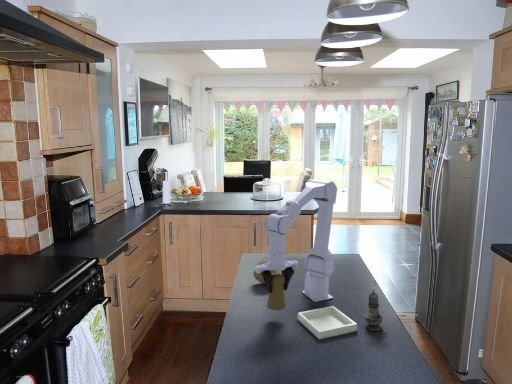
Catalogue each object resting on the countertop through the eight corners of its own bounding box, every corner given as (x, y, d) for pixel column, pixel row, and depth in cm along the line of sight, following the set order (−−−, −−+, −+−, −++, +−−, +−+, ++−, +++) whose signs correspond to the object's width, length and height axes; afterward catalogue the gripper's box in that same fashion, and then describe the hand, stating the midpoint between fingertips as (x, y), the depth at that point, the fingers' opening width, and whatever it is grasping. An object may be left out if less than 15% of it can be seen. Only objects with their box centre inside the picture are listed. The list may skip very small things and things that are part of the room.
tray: (297, 319, 132) (297, 312, 132) (332, 312, 138) (333, 305, 137) (319, 339, 120) (319, 332, 120) (356, 331, 125) (357, 323, 125)
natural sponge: (278, 287, 158) (279, 263, 157) (257, 289, 156) (257, 265, 155) (273, 279, 167) (273, 256, 165) (252, 281, 165) (252, 257, 163)
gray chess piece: (363, 323, 130) (362, 286, 130) (381, 323, 130) (381, 287, 129) (364, 330, 125) (364, 292, 124) (384, 331, 124) (384, 293, 123)
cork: (264, 304, 134) (264, 272, 132) (280, 301, 136) (281, 270, 135) (272, 311, 128) (273, 278, 127) (288, 308, 131) (289, 276, 129)
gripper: (261, 257, 123) (261, 299, 125) (303, 251, 128) (302, 291, 131) (252, 250, 129) (253, 290, 132) (292, 245, 135) (292, 284, 137)
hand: (276, 290), depth 132 cm, fingers closed on cork, 5 cm apart
